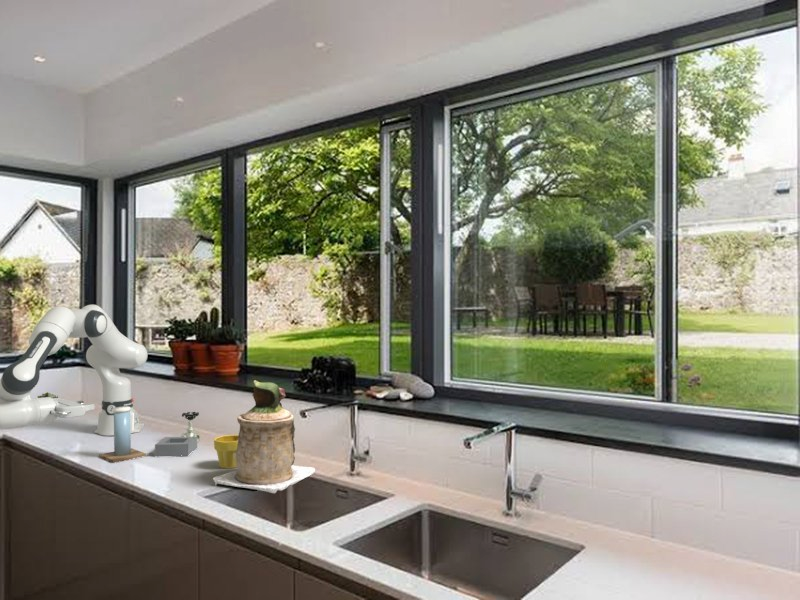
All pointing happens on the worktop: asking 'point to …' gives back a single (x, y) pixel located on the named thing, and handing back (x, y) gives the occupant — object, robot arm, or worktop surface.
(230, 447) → the plant pot
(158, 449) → the housing
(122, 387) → the robot arm
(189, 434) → the valve
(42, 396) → the green leafy plant
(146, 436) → the worktop surface
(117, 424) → the blue bottle
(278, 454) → the cookie jar
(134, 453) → the board
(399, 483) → the worktop surface
